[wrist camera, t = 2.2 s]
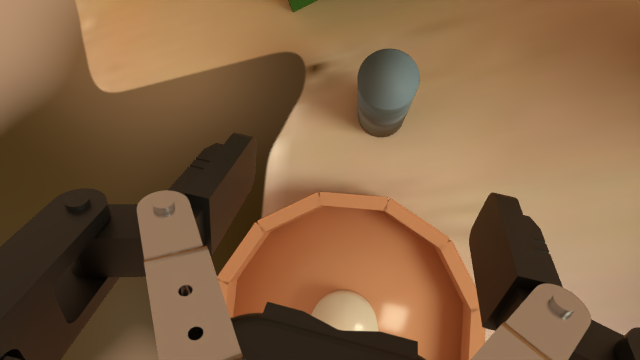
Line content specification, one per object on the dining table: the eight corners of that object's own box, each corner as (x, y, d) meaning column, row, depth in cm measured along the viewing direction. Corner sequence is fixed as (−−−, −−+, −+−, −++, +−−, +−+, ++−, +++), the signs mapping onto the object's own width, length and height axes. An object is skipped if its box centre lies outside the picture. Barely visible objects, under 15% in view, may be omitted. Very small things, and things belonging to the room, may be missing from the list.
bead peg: (405, 93, 38) (421, 49, 28) (402, 138, 38) (417, 109, 28) (360, 91, 39) (360, 47, 29) (356, 135, 38) (355, 106, 28)
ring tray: (478, 206, 36) (491, 205, 33) (465, 470, 34) (477, 499, 31) (238, 187, 39) (226, 184, 35) (212, 431, 37) (196, 453, 33)
